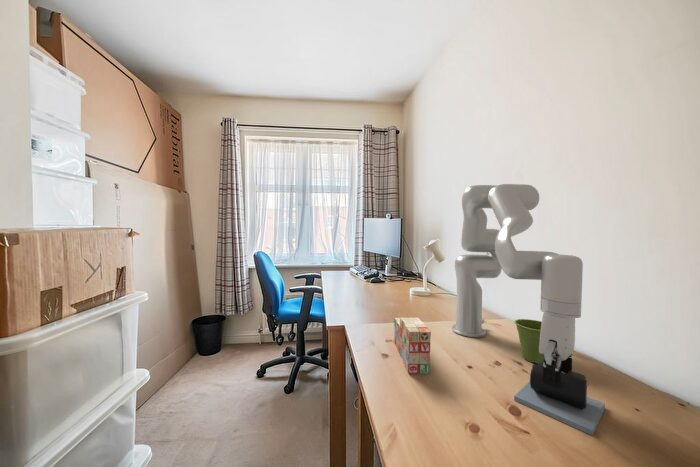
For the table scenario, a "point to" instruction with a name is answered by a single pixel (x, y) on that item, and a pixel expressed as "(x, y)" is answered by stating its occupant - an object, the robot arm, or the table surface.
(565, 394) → the end cap
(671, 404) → the table surface
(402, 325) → the stack of blocks
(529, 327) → the plant pot
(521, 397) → the slate mat
